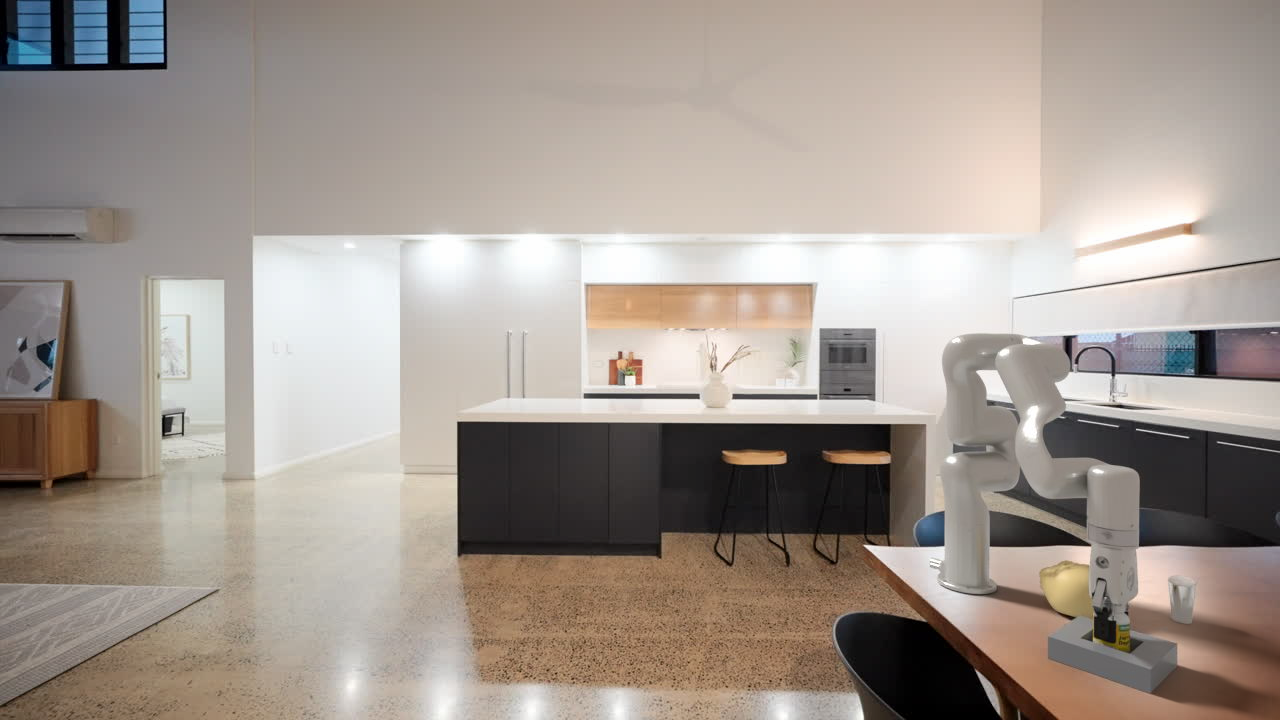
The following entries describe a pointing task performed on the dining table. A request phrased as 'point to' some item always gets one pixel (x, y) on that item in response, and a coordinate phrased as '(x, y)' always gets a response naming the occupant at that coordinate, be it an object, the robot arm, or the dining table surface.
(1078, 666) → the socket block
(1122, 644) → the supplement bottle
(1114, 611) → the robot arm
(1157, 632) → the dining table surface
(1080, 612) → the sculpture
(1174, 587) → the milkshake
